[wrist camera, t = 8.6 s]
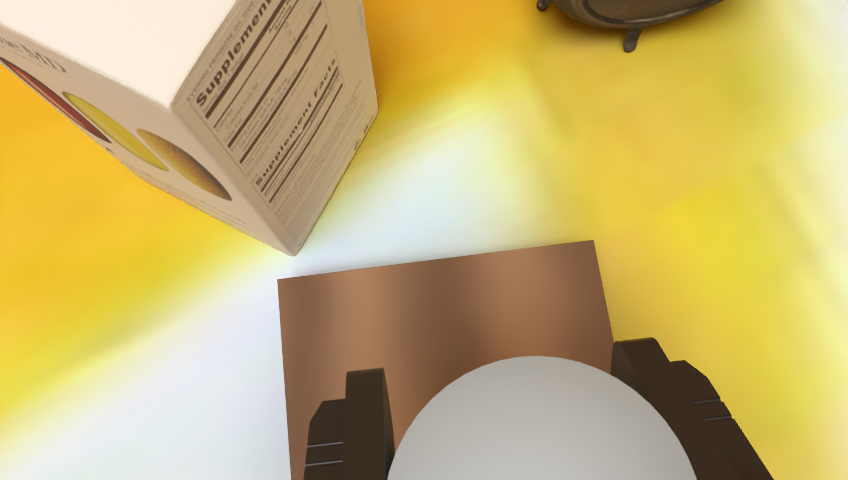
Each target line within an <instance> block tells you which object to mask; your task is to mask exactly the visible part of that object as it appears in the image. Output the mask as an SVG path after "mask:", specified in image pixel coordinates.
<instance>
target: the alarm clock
mask: <svg viewBox="0 0 848 480" xmlns="http://www.w3.org/2000/svg"><path fill="white" fill-rule="evenodd" d="M721 1H723V0H539V1H538V2H537V8H538V9H539V10H541V11H543V10H545V9H546V8H547V7H548V5H549V4H552V3H553V2H554V3H555V5H556V6H557V8H558V9H559V10H561V11H562V12H563V13H565V14H566V15H567V16H569V17H571V18H573V19H574V20H576V21H579V22H581V23H584V24H587V25H591V26H596V27H602V28H625V29H627V33H626V37H625V41H624V48H625V51H626V52H632V51H633V50H634V49H635V48H636V45H637V41H638V38H639V35H640V33H641V30H642V29H643V28H644V27H646V26H650V25H655V24H660V23H664V22H668V21H672V20H676V19H679V18H682V17H686V16H688V15H691V14H694V13H696V12H699V11H701V10H704V9H706V8H708V7H711V6H713V5H715V4H717V3H719V2H721Z"/></svg>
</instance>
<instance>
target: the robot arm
mask: <svg viewBox="0 0 848 480" xmlns="http://www.w3.org/2000/svg"><path fill="white" fill-rule="evenodd" d="M610 375H611V376H613V377H615V378H617V379H619V380H620V381H622V382H623V383H625V384H626V385H628V386H629V387H630V388H632V389H633V390H635V391H636V392H637V393H638V394H639V395H641V396H642V397H643V398H644V399H645V400H646V401H647V402H649V403H650V404H651V405H652V406H653V408H654V409H655V410H656V411H657V412H658V413H659V414H660V415H661V416H662V418H663V419H664V420H665V421H666V422H667V424H668V425H669V427H670V428H671V430H672V431H673V432H674V434H675V435H676V437H677V438H678V440H679V442H680V444H681V445H682V447H683V449H684V451H685V453H686V455H687V456H688V459H689V461H690V464H691V466H692V469H693V471H694V474H695V476H696V479H697V480H774V479H773V478H772V476H771V475H770V473H769V472H768V470H767V469H766V467H765V466H764V464H763V463H762V461H761V459H760V458H759V456H758V455H757V453H756V452H755V450H754V449H753V447H752V446H751V444H750V443H749V441H748V439H747V438H746V436H745V435H744V433H743V432H742V430H741V429H740V427H739V426H738V424H737V423H736V421H735V419H732V417H731V413H730V412H729V410H728V409H727V407H726V406H725V404H724V403H723V402H721V400H720V396H719V395H718V393H717V392H716V390H715V389H714V387H713V386H712V384H711V383H710V381H709V379H708V378H707V377H706V376H705V375H704V374H702V373H701V372H700V371H698V370H697V369H696V368H694V367H693V366H692V365H690V364H689V363H688V362H686V361H685V360H682V361H673V362H669V360H668V358H667V357H666V355H665V353H664V352H663V350H662V348H661V347H660V345H659V343H658V342H657V340H656V339H654V338H652V337H650V338H641V339H632V340H624V341H616V342H615V343H614V344H613V349H612V361H611V374H610ZM394 456H395V441H394V431H393V423H392V416H391V410H390V403H389V397H388V390H387V384H386V377H385V371H384V368H383V367H381V368H372V369H364V370H355V371H347V374H346V392H345V399H336V400H327V401H322V403H321V404H320V406H319V408H318V409H317V411H316V412H315V414H314V416H313V417H312V419H311V421H310V423H309V432H308V442H307V451H306V460H305V470H304V479H303V480H387V479H388V475H389V470H390V468H391V465H392V462H393V459H394Z"/></svg>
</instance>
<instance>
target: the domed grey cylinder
mask: <svg viewBox="0 0 848 480" xmlns="http://www.w3.org/2000/svg"><path fill="white" fill-rule="evenodd" d="M387 480H697V479H696V476H695V474H694V471H693V469H692V466H691V464H690V461H689V459H688V456H687V455H686V453H685V451H684V449H683V447H682V445H681V444H680V442H679V440H678V438H677V437H676V435H675V434H674V432H673V431H672V430H671V428H670V427H669V425H668V424H667V422H666V421H665V420H664V419H663V418H662V416H661V415H660V414H659V413H658V412H657V411H656V410H655V409H654V408H653V406H652V405H651V404H650V403H649V402H647V401H646V400H645V399H644V398H643V397H642V396H641V395H639V394H638V393H637V392H636V391H635V390H633V389H632V388H630V387H629V386H628V385H626V384H625V383H623V382H622V381H620V380H619V379H617V378H615V377H613V376H611V375H609V374H607V373H606V372H604V371H602V370H600V369H597V368H595V367H592V366H589V365H586V364H583V363H581V362H577V361H573V360H568V359H564V358H558V357H547V356H525V357H516V358H510V359H505V360H500V361H496V362H493V363H490V364H487V365H484V366H481V367H479V368H477V369H475V370H473V371H471V372H469V373H467V374H464V375H463V376H461V377H460V378H458V379H457V380H455V381H454V382H452V383H450V384H449V385H447V386H446V387H445V388H444V389H443V390H441V391H440V392H439V393H438V394H437V395H436V396H435V397H433V398H432V399H431V400H430V401H429V403H428V404H427V405H426V406H425V407H424V408H423V409H422V410H421V412H420V413H419V414H418V415H417V417H416V418H415V419H414V421H413V422H412V424H411V425H410V427H409V428H408V430H407V431H406V433H405V435H404V437H403V439H402V441H401V443H400V445H399V447H398V449H397V451H396V454H395V456H394V459H393V462H392V465H391V468H390V470H389V475H388V479H387Z"/></svg>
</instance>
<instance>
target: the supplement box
mask: <svg viewBox="0 0 848 480" xmlns="http://www.w3.org/2000/svg"><path fill="white" fill-rule="evenodd" d="M0 63H1V64H2V65H3V66H4V67H6V68H7V69H8V70H9V71H11V72H12V73H13V74H14V75H16V76H17V77H18V78H19V79H20V80H22V81H23V82H24V83H25V84H26V85H28V86H29V87H30V88H31V89H33V90H34V91H35V92H36V93H37V94H39V95H40V96H41V97H42V98H43V99H45V100H46V101H47V102H48V103H49V104H51V105H52V106H53V107H54V108H55V109H57V110H58V111H59V112H60V113H61V114H63V115H64V116H65V117H66V118H68V119H69V120H70V121H71V122H73V123H74V124H75V125H76V126H77V127H79V128H80V129H81V130H82V131H83V132H85V133H86V134H87V135H88V136H89V137H91V138H92V139H93V140H94V141H95V142H97V143H98V144H99V145H100V146H101V147H103V148H104V149H105V150H106V151H107V152H109V153H110V154H111V155H112V156H113V157H115V158H116V159H117V160H118V161H119V162H121V163H122V164H123V165H124V166H126V167H127V168H128V169H129V170H130V171H132V172H133V173H134V174H135V175H137V176H138V177H139V178H140V179H142V180H143V181H145V182H147V183H149V184H151V185H153V186H155V187H157V188H159V189H161V190H163V191H165V192H167V193H169V194H171V195H172V196H174V197H176V198H178V199H180V200H182V201H184V202H186V203H188V204H190V205H191V206H193V207H195V208H197V209H199V210H201V211H203V212H205V213H206V214H208V215H210V216H212V217H214V218H216V219H218V220H220V221H222V222H224V223H226V224H228V225H230V226H232V227H234V228H236V229H238V230H240V231H242V232H244V233H246V234H248V235H250V236H252V237H253V238H255V239H257V240H259V241H261V242H263V243H265V244H267V245H269V246H271V247H273V248H275V249H277V250H279V251H281V252H283V253H285V254H287V255H290V256H295V255H296V254H297V253H298V251H299V250H300V248H301V246H302V245H303V243H304V241H305V240H306V238H307V236H308V235H309V233H310V231H311V229H312V228H313V226H314V224H315V222H316V221H317V219H318V217H319V215H320V214H321V212H322V210H323V208H324V207H325V205H326V203H327V202H328V200H329V198H330V196H331V195H332V193H333V191H334V189H335V188H336V186H337V184H338V182H339V181H340V179H341V177H342V175H343V174H344V172H345V170H346V168H347V167H348V165H349V163H350V161H351V160H352V158H353V156H354V154H355V153H356V151H357V149H358V147H359V146H360V144H361V142H362V140H363V139H364V137H365V135H366V133H367V131H368V130H369V128H370V126H371V124H372V123H373V121H374V119H375V118H376V116H377V114H378V111H379V109H378V101H377V95H376V88H375V82H374V75H373V69H372V62H371V55H370V49H369V42H368V36H367V31H366V24H365V12H364V7H363V1H362V0H0Z"/></svg>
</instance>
